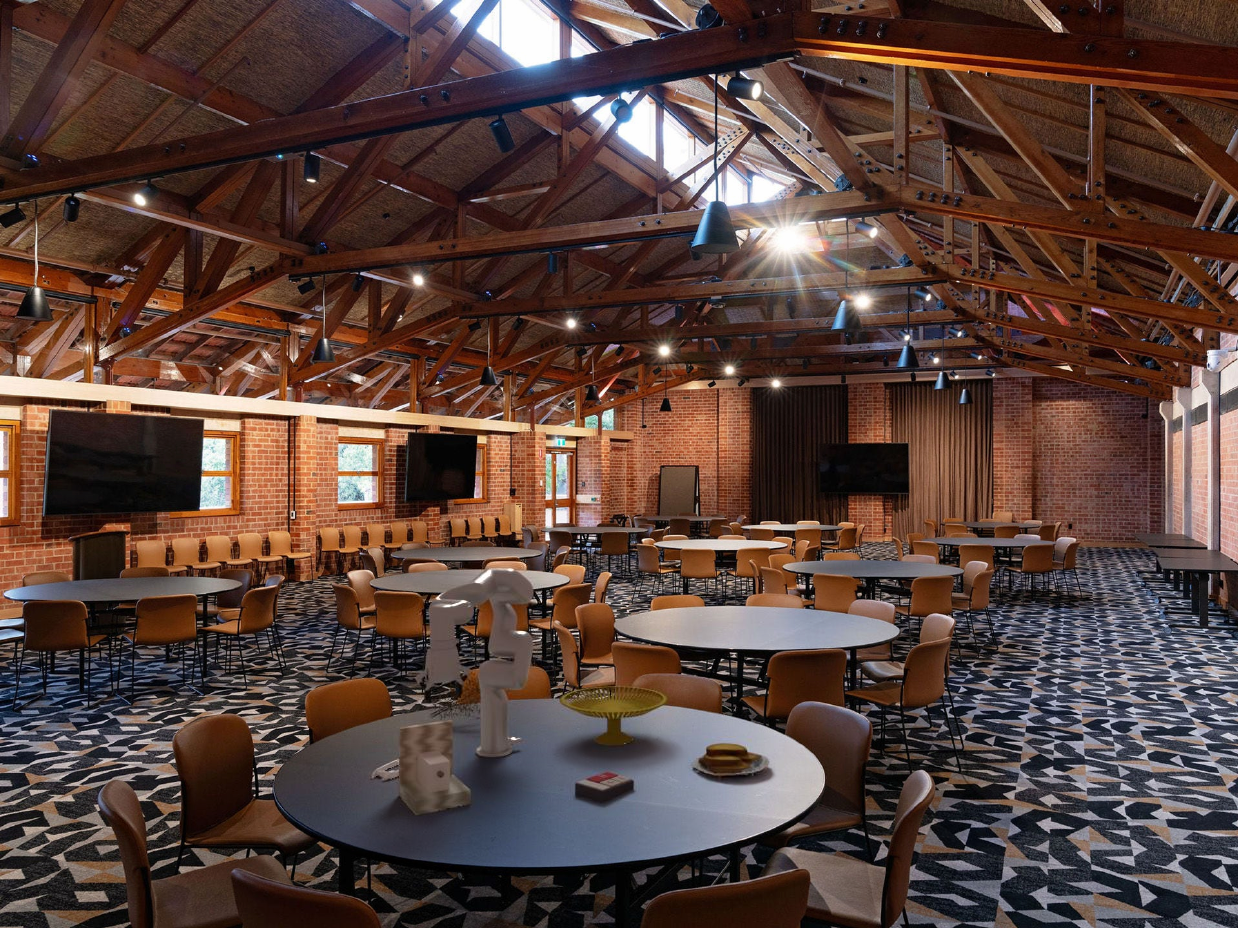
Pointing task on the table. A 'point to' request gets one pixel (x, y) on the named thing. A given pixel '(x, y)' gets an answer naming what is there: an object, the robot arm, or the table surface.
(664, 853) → the table surface
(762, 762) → the food on plate
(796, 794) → the table surface
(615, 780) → the small patterned box
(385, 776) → the door handle
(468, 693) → the dried plant
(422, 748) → the beige zigzag bookend
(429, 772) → the pale taupe block
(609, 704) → the yellow pedestal fruit bowl
